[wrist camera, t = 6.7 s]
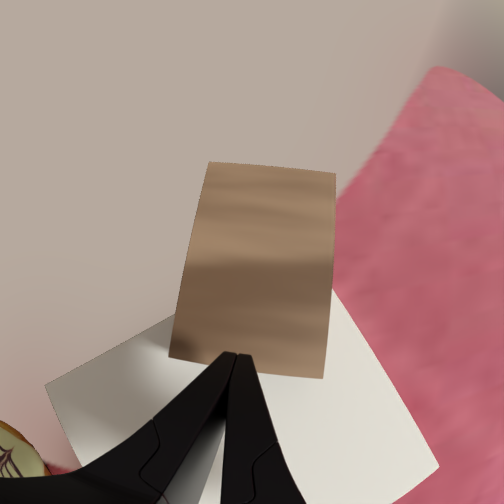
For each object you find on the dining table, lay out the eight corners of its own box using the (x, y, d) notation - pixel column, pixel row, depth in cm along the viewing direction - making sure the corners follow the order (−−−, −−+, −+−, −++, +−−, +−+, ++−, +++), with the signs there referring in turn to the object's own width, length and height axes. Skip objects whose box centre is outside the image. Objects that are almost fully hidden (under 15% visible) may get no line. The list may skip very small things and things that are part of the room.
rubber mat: (434, 464, 12) (439, 466, 12) (177, 582, 10) (175, 587, 9) (299, 245, 18) (300, 241, 17) (50, 385, 15) (44, 385, 15)
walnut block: (323, 379, 11) (335, 173, 14) (167, 357, 11) (208, 161, 14) (309, 375, 15) (323, 212, 18) (192, 359, 15) (220, 202, 18)
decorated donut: (56, 425, 15) (19, 431, 11) (97, 554, 11) (72, 576, 7) (-27, 411, 14) (-59, 410, 11) (4, 521, 11) (-22, 530, 7)
